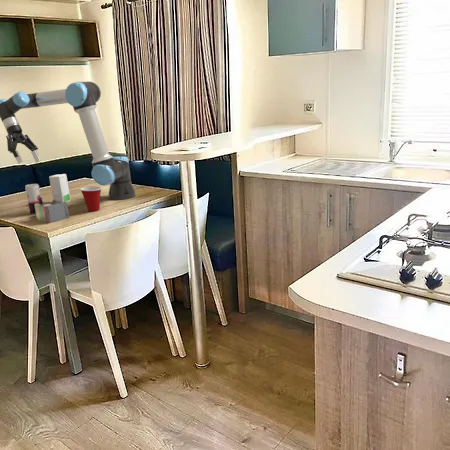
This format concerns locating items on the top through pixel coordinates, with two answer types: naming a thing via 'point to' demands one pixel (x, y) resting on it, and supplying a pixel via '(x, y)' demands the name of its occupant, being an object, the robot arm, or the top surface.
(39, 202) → the plunger
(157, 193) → the top surface
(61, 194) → the skincare box
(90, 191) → the plastic cup
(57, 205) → the grey desk organizer
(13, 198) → the top surface
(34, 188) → the beverage can
